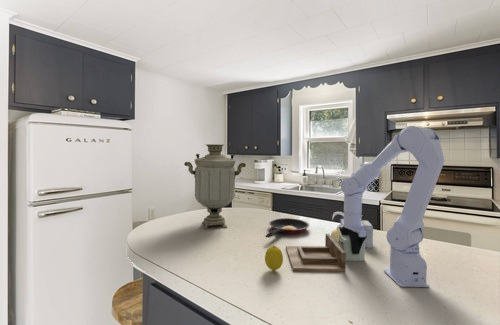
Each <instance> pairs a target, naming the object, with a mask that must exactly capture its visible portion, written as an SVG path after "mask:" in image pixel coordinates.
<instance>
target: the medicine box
mask: <svg viewBox="0 0 500 325" xmlns="http://www.w3.org/2000/svg"><path fill="white" fill-rule="evenodd" d="M361 224H363V225H364V227H363V229H364V230H365V231H366V235H367V238H366V239H365V249H366V248H369V249H372V248H373V246H374V243H373V242H374V226H373V225H372V223H370V222H369V220H365V219H364V220H363V219H361Z"/></svg>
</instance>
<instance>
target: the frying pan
mask: <svg viewBox="0 0 500 325" xmlns="http://www.w3.org/2000/svg"><path fill="white" fill-rule="evenodd" d="M268 223H269V224H268V225H269V226H270V227H271V228H272V229H273V230H272V231H269V232H268V233H267V234H266V235H265V237H266V238H271V237H273V236H275V235H276V234H278V233H279V234H283V235H298V234H299V235H300V234H302V233H304V232H305V231H306V230H307V229H308V228H309V227H310V223H309V222H308V221H306V220H304V219H300V218H299V219H298V218H292V217H291V218H290V217H282V218H274V219H271V220H269V222H268Z"/></svg>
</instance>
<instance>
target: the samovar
mask: <svg viewBox="0 0 500 325" xmlns="http://www.w3.org/2000/svg"><path fill="white" fill-rule="evenodd" d="M205 146H206V147H207V151H208V152H209V153H208V154H206V155H204V156H203V157H200V153H196V154H195V157H196V158H195V159H194V164H195V165H196V166H195V169H194V166H193V164H192V162H190V161H185V162H184V166H186V167H188V168H187V169H188V172H189V173H190V174H191V175H194V176H193V177H194V197H195V200H196V201H197V203H199V204H200V205H201V206H202V207H206V209H207V210H206V212H207V213H209V214H207V215H206V217H204V218H203V221H202V224H204V226H203V227H202V228H203V229H202V230H208V228H209V226H218V225H220V226H223V227H224V228H225V229H227V228H228V225H227V224H226V218H225V217H224V216H223V215H221V214H220V213H221V212H222V211H223V210H222V209H223V208H224V207H226V206H228V205H229V204H230V203H232V202H233V200H234V199H235V190H236V189H235V188H236V186H235V185H236V177H237V176H239V175H240V174H241V173H242V168H245V167H246V166H247V164H246V163H245V162H240V163H239V164H238V165H237V169H235V164H236V159H234V157H235V154H233V153H232V154H230V158H229V157H226V155H224V154H222V151H223V147H224V144H217V143H216V144H211V143H210V144H205Z"/></svg>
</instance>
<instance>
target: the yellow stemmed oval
mask: <svg viewBox="0 0 500 325" xmlns="http://www.w3.org/2000/svg"><path fill="white" fill-rule="evenodd" d="M337 215H340V216H341V217H343V218H344V212H342V211H335V212H333V213H332V218H331V220H332V221H333V220H334V217H335V216H337ZM339 227H343V225H341V224H340V223H339V224H337V226H336V228H335V229H333V230H332V231H331V233H330V236H331V237H332V238H333V239H334V240H335V241H336V242H337V243H339V235H342V234H341V232H340V230H339Z"/></svg>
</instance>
